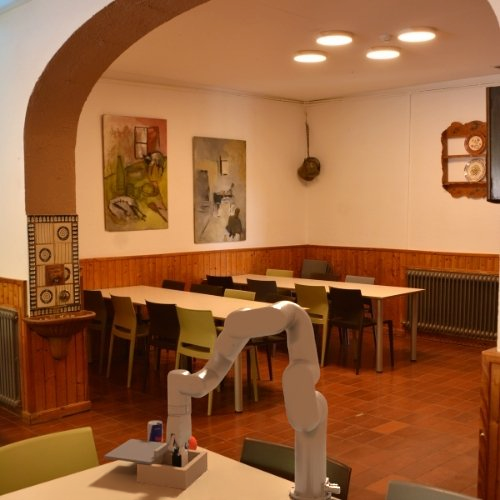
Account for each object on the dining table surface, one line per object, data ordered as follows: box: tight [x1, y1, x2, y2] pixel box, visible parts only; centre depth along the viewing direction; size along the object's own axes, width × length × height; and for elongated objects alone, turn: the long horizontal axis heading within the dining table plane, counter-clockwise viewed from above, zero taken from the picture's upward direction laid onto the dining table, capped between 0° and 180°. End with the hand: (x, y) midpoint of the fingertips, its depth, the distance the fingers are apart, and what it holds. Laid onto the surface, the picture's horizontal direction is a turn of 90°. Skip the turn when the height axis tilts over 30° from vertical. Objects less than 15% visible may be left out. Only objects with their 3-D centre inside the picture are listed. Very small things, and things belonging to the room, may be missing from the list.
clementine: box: [189, 435, 198, 450], centre depth 233 cm, size 8×7×7 cm
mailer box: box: [136, 449, 208, 490], centre depth 214 cm, size 17×17×6 cm
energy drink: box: [146, 419, 164, 443], centre depth 231 cm, size 5×5×12 cm
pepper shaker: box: [172, 443, 188, 468], centre depth 213 cm, size 4×4×10 cm
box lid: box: [103, 438, 169, 465], centre depth 217 cm, size 17×17×3 cm
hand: (180, 463), depth 213 cm, fingers closed on pepper shaker, 4 cm apart
